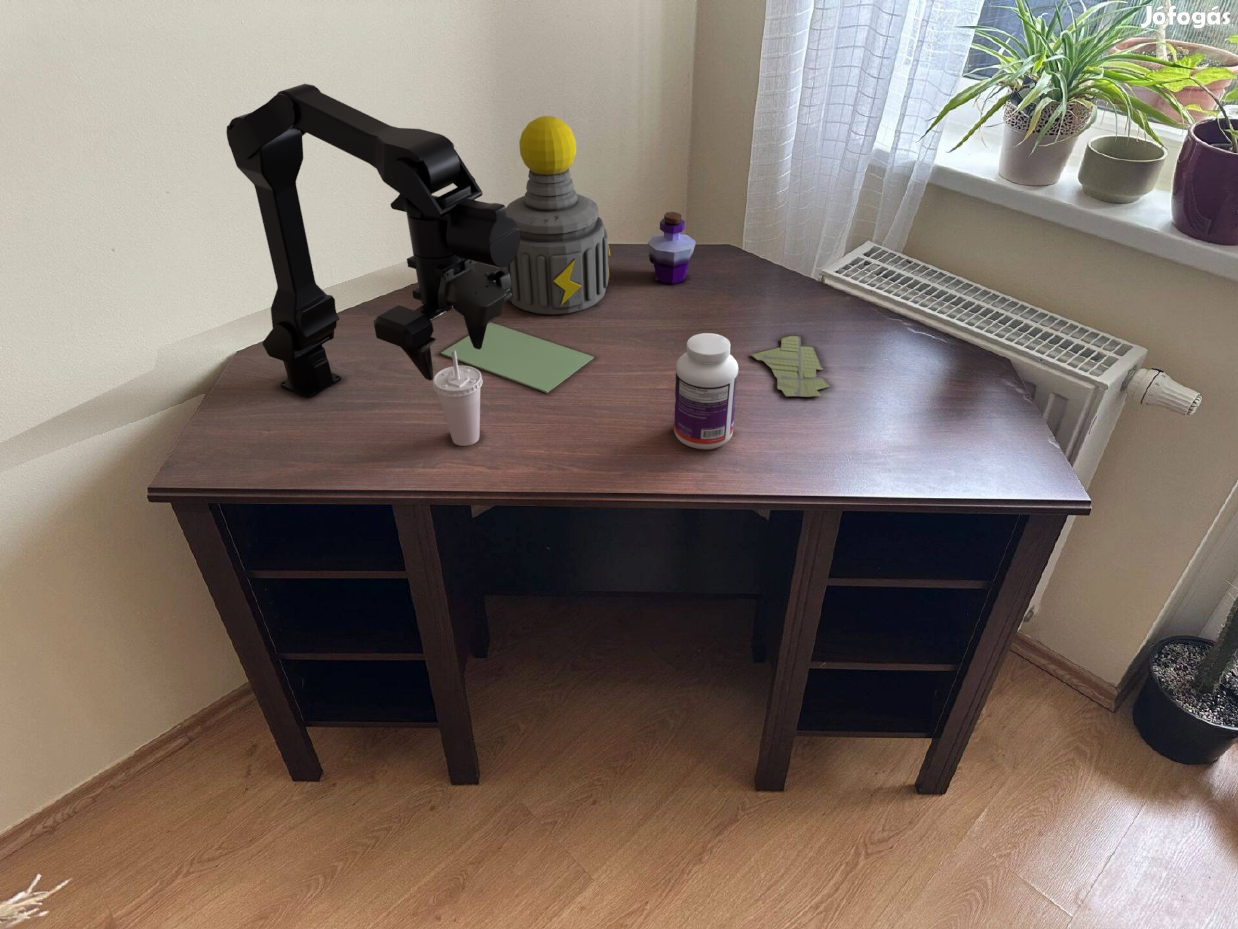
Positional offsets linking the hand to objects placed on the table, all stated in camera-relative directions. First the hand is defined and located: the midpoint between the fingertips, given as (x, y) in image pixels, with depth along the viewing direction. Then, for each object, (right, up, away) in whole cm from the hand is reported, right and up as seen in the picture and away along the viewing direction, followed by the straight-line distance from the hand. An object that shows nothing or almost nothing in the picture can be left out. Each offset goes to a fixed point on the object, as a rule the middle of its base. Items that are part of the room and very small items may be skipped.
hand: (454, 363), depth 112 cm
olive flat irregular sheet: (+47, +2, +21) cm, 52 cm away
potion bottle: (+31, +21, +46) cm, 59 cm away
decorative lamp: (+10, +17, +42) cm, 46 cm away
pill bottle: (+33, -9, +7) cm, 35 cm away
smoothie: (0, -10, +7) cm, 12 cm away
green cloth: (+5, +4, +24) cm, 25 cm away
